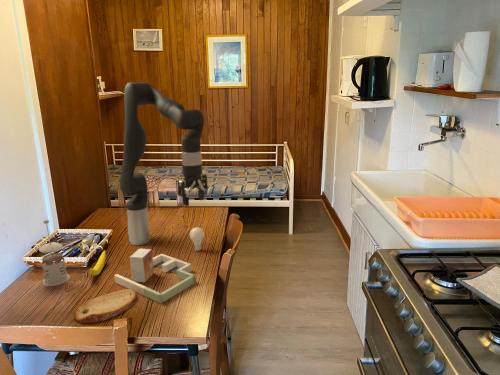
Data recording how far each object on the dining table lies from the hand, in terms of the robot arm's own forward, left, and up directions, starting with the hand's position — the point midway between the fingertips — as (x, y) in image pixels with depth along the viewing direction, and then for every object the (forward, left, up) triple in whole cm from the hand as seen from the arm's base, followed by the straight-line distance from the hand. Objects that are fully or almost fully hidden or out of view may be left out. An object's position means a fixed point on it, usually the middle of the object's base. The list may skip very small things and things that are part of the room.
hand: (193, 202), depth 151 cm
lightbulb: (-10, +11, -28) cm, 32 cm away
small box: (-11, -19, -28) cm, 36 cm away
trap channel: (-4, -16, -28) cm, 32 cm away
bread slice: (-5, -39, -28) cm, 49 cm away
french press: (-39, -39, -28) cm, 62 cm away
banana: (-31, -26, -28) cm, 49 cm away
